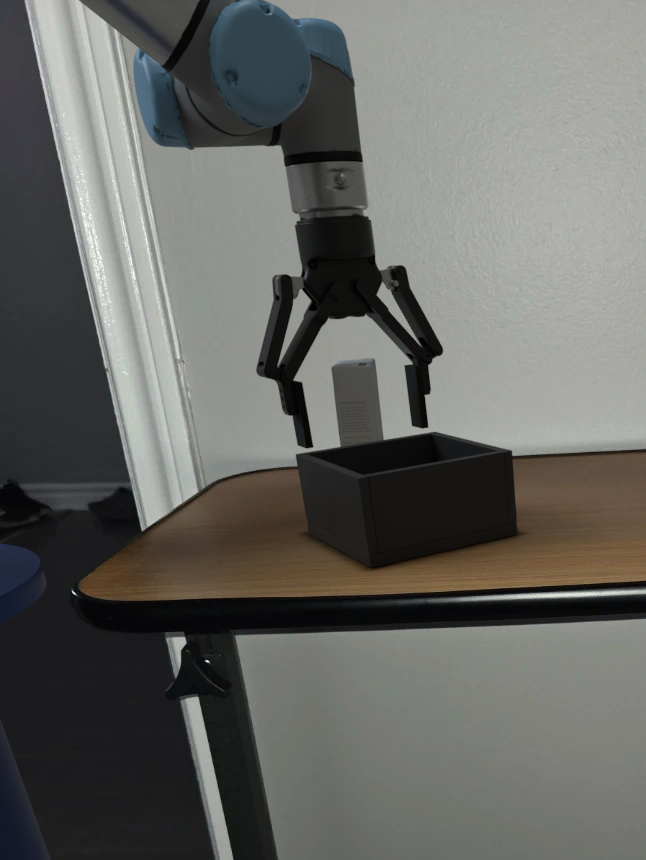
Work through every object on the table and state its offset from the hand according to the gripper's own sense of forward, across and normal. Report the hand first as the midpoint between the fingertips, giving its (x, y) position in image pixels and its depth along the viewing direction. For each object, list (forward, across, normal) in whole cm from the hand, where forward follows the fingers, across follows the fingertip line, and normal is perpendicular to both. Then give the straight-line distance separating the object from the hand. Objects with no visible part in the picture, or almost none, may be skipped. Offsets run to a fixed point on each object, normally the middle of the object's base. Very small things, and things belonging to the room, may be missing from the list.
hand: (364, 436), depth 101 cm
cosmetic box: (+5, 0, 0) cm, 5 cm away
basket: (+4, -7, -25) cm, 26 cm away
